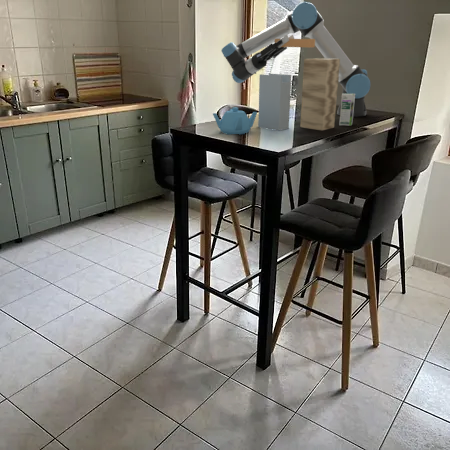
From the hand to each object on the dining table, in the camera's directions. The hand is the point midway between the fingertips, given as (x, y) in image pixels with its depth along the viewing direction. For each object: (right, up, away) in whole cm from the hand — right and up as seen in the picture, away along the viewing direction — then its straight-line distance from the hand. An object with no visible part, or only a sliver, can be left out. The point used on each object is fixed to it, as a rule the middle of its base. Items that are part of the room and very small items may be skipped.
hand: (290, 37), depth 211 cm
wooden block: (+13, -40, +3) cm, 43 cm away
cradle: (-8, -41, +3) cm, 42 cm away
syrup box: (+28, -38, +9) cm, 48 cm away
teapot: (-26, -45, -6) cm, 52 cm away
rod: (+2, -4, 0) cm, 5 cm away
